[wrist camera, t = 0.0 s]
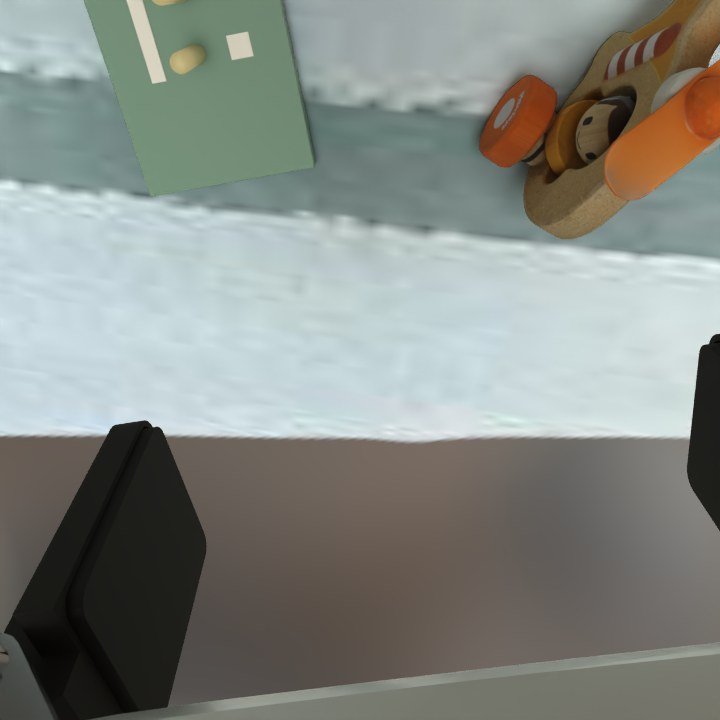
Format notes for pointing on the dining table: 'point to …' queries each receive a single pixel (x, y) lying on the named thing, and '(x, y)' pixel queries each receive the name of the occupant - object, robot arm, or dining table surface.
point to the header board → (205, 89)
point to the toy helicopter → (614, 121)
